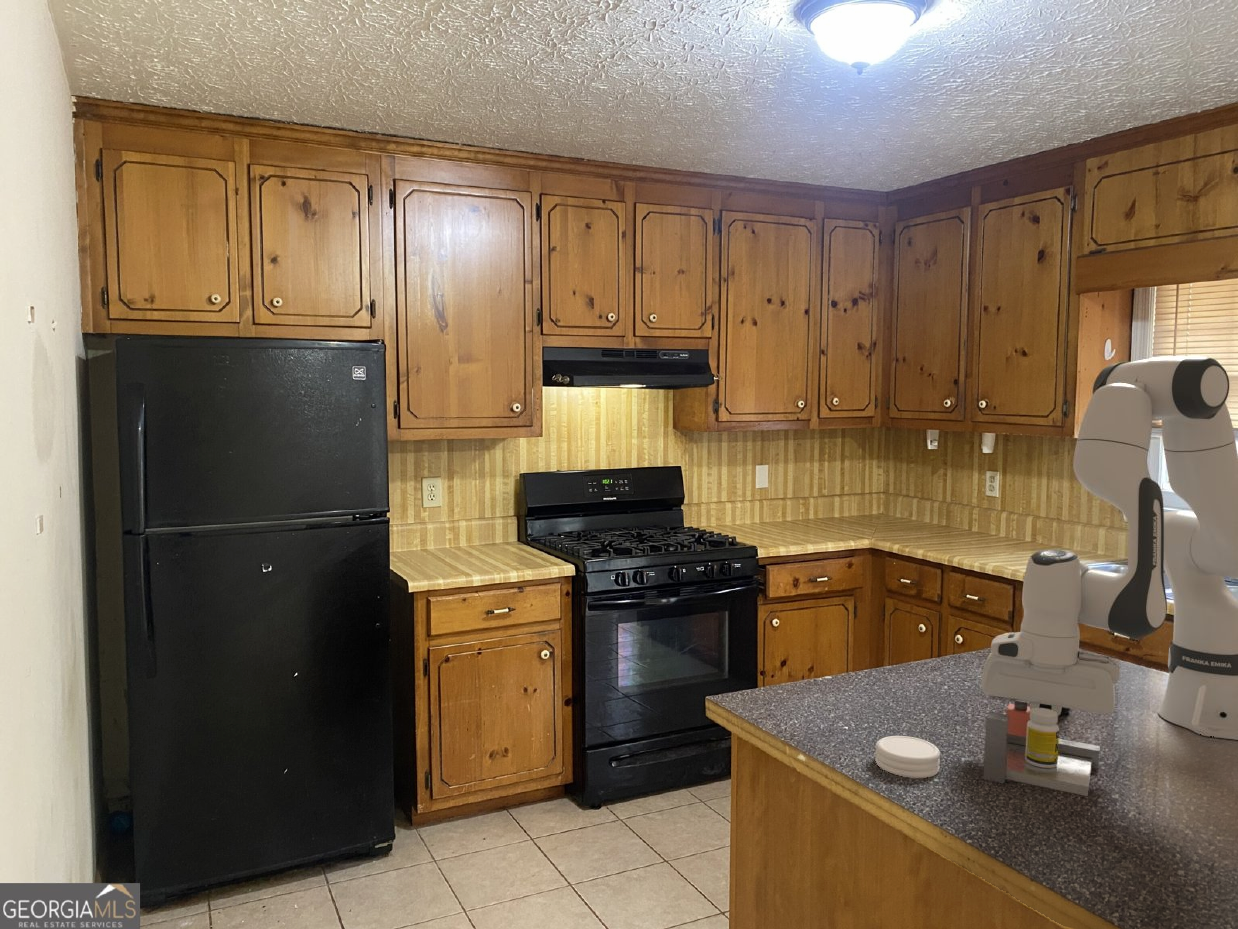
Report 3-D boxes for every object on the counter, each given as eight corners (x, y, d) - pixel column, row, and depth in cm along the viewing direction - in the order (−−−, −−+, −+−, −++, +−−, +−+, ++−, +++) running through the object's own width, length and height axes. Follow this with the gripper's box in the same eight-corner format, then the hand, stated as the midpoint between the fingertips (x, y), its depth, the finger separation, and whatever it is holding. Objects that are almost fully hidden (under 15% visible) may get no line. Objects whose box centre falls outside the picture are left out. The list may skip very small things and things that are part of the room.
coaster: (920, 753, 152) (921, 733, 152) (951, 778, 142) (952, 756, 142) (864, 756, 151) (865, 736, 150) (892, 782, 141) (893, 760, 140)
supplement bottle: (1060, 770, 142) (1063, 718, 141) (1028, 767, 143) (1031, 715, 142) (1053, 758, 146) (1056, 708, 146) (1022, 755, 147) (1024, 705, 147)
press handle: (1033, 730, 154) (1035, 701, 153) (1031, 738, 150) (1032, 708, 150) (1008, 726, 156) (1009, 696, 155) (1005, 733, 152) (1006, 703, 152)
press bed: (1098, 764, 148) (1102, 704, 147) (1094, 803, 134) (1098, 737, 133) (994, 743, 156) (997, 687, 155) (979, 778, 142) (982, 716, 141)
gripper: (1120, 653, 147) (1115, 735, 148) (986, 635, 157) (983, 712, 159) (1119, 663, 142) (1114, 748, 143) (981, 643, 152) (977, 723, 153)
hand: (1044, 729), depth 151 cm, fingers closed
